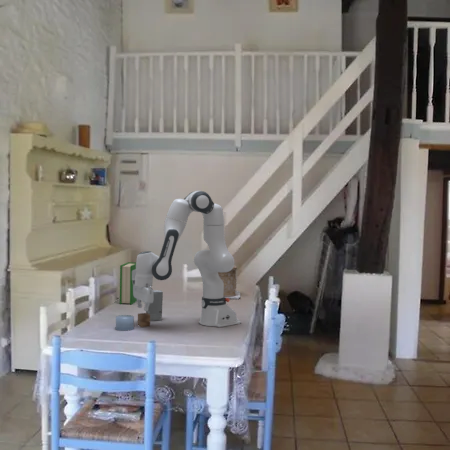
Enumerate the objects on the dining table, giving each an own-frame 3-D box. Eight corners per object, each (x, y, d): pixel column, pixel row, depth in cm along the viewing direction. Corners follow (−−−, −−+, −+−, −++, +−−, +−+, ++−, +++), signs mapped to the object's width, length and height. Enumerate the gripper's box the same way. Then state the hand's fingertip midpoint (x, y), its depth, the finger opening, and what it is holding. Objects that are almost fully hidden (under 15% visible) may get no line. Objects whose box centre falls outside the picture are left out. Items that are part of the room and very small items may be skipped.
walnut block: (146, 324, 285) (146, 312, 285) (150, 326, 281) (150, 314, 280) (137, 325, 283) (137, 313, 282) (140, 327, 278) (141, 315, 278)
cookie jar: (240, 299, 359) (241, 251, 357) (203, 298, 359) (204, 250, 358) (240, 293, 384) (241, 248, 382) (205, 292, 384) (206, 247, 382)
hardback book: (131, 304, 334) (131, 266, 333) (119, 304, 335) (120, 265, 334) (138, 299, 352) (139, 262, 351) (127, 298, 353) (128, 262, 351)
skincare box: (147, 321, 291) (147, 291, 291) (145, 318, 298) (145, 289, 298) (162, 320, 294) (163, 291, 293) (160, 317, 301) (161, 289, 300)
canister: (130, 325, 281) (130, 314, 281) (136, 329, 273) (136, 318, 272) (112, 327, 276) (112, 315, 276) (118, 331, 268) (118, 319, 268)
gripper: (157, 285, 273) (156, 312, 273) (142, 279, 291) (141, 305, 291) (145, 285, 270) (144, 313, 270) (131, 280, 288) (130, 306, 288)
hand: (142, 309), depth 281 cm, fingers open, 8 cm apart
